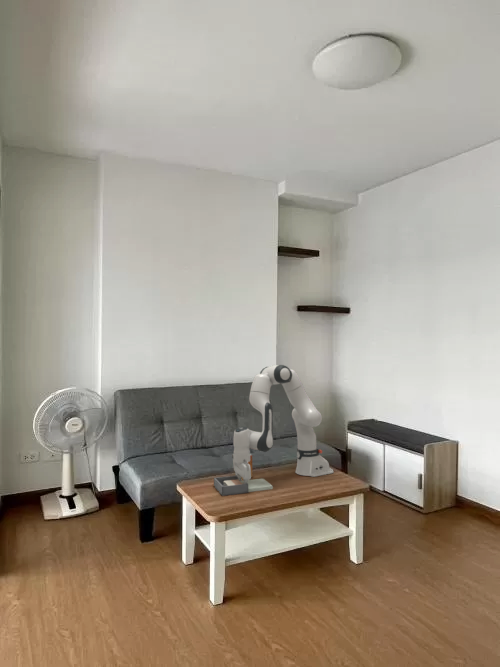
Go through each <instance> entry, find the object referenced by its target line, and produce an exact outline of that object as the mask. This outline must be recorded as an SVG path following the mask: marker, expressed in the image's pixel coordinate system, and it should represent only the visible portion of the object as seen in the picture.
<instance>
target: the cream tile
mask: <svg viewBox="0 0 500 667" xmlns="http://www.w3.org/2000/svg"><path fill="white" fill-rule="evenodd" d="M230 485H235V484H234V483H233V482H232V481H231V480H227V481H223V486H230Z"/></svg>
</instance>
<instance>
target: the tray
mask: <svg viewBox="0 0 500 667" xmlns="http://www.w3.org/2000/svg"><path fill="white" fill-rule="evenodd" d="M237 479H238V477H237V475H235V474H234V475H226V476H218V477H213V487H214V486H215V487H214V488H215V490H217V491H219V492H218V493H219V494H220V495H221V496H222V497H223V496H224V497H225V496H227V497H228V496H234V495H242V494H248V493H249V492H248V483H247V484H239V485H230V486H223V481H227V480H237Z"/></svg>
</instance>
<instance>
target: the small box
mask: <svg viewBox="0 0 500 667" xmlns="http://www.w3.org/2000/svg"><path fill="white" fill-rule="evenodd" d="M248 464H249V465H250V468H251V477H252V478H253V454H251V453H250V461H249V462H248ZM234 472H235V471H234ZM234 475H237V473H236V472H235V473H234ZM241 478H242V477H241Z"/></svg>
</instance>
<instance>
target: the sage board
mask: <svg viewBox="0 0 500 667" xmlns="http://www.w3.org/2000/svg"><path fill="white" fill-rule="evenodd" d="M241 483H242V484H243V483H244V480H242V481H241ZM247 483H248V493H251V492H258V491H260V492H261V491H266V490H267V491H268V490H273V488H274V485H272V484H271V483H270V482H269V481H267V480H266V479H265V478H263V477H262V478H256V479H250V480H248V482H247Z"/></svg>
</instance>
